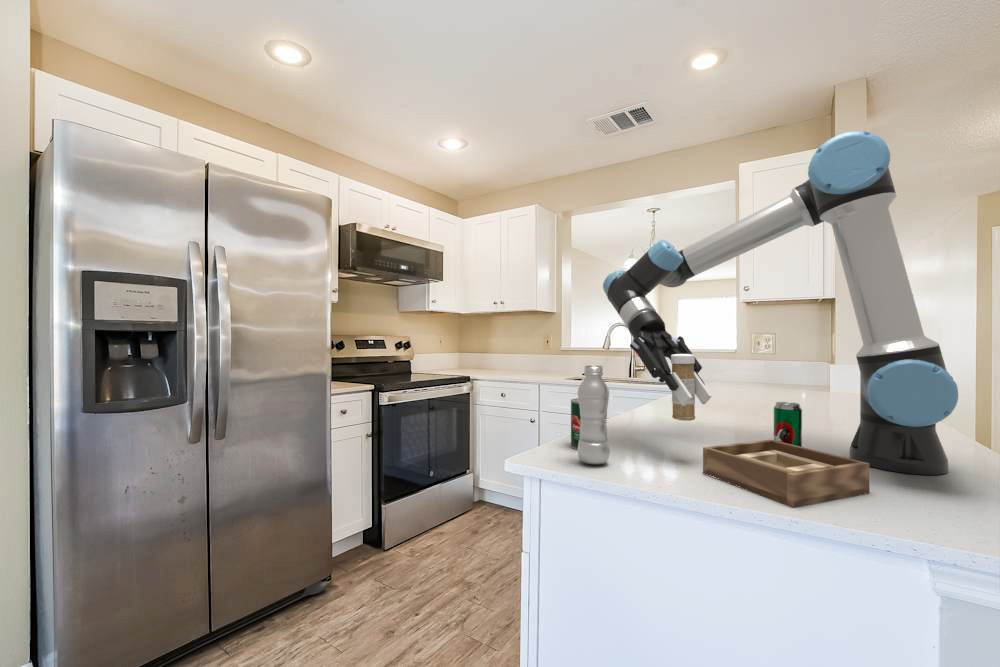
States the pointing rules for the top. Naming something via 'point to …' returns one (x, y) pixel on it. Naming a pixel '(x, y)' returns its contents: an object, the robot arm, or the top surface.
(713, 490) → the top surface
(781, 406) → the soda can
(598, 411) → the plastic bottle
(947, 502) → the top surface
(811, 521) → the top surface
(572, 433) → the canned tomato
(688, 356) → the sprinkles bottle
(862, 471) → the socket tray
